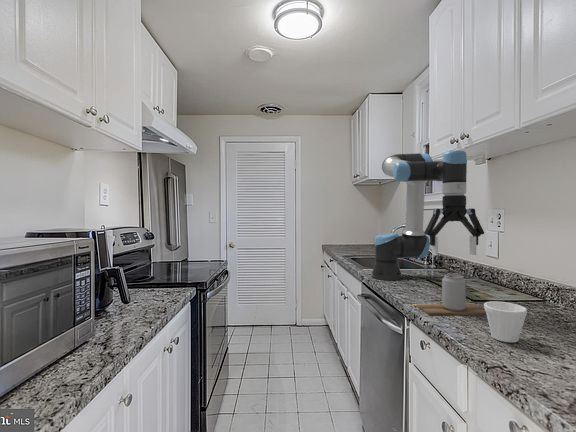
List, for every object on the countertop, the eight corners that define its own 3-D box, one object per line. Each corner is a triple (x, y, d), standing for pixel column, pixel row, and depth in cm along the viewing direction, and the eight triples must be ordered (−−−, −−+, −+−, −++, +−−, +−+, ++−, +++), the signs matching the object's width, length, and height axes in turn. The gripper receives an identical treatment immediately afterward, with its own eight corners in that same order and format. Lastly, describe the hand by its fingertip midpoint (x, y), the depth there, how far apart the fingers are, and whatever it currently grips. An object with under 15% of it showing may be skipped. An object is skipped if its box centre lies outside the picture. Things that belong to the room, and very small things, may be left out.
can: (460, 305, 117) (460, 273, 116) (469, 312, 109) (469, 277, 109) (438, 305, 117) (438, 273, 117) (446, 311, 110) (446, 277, 110)
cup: (489, 329, 96) (489, 299, 96) (530, 339, 89) (530, 306, 88) (478, 339, 89) (479, 306, 89) (522, 350, 82) (522, 314, 82)
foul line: (411, 304, 121) (411, 304, 121) (474, 304, 121) (474, 303, 121) (413, 305, 120) (413, 305, 120) (476, 305, 120) (476, 304, 120)
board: (416, 306, 119) (416, 304, 119) (474, 305, 119) (475, 303, 119) (429, 315, 109) (429, 313, 109) (492, 314, 109) (492, 312, 109)
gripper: (424, 195, 108) (423, 256, 109) (496, 194, 109) (495, 255, 109) (414, 195, 116) (414, 253, 117) (482, 195, 116) (481, 252, 117)
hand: (453, 254), depth 113 cm, fingers open, 13 cm apart
